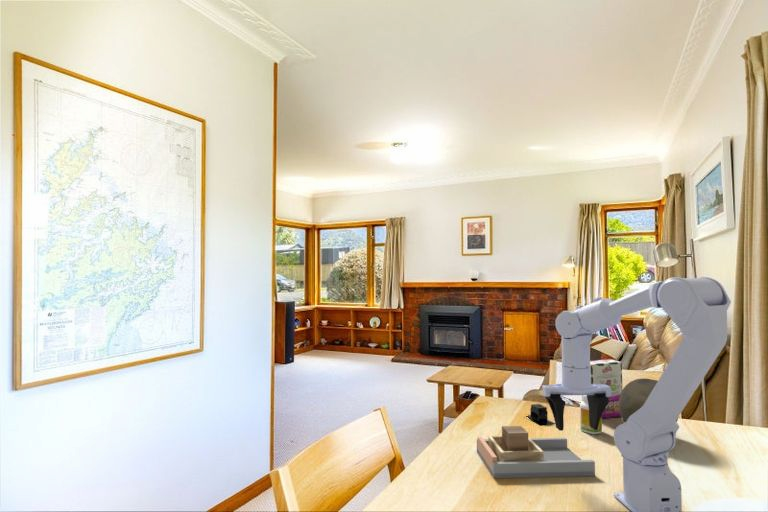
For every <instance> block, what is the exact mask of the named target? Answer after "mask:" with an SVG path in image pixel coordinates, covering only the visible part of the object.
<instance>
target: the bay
mask: <svg viewBox="0 0 768 512" xmlns="http://www.w3.org/2000/svg"><path fill="white" fill-rule="evenodd" d="M529 438H530V437H529ZM530 439H531V440H532V441H533V442H534V443H535V444H536V445H537V446H538V447H539V448H540V449H541V450H542V451H543V452H544V461H511V462H497V457H496V455H495V454H494V453H493V451H492V450H491V448H490V447H489V446H488V438H484V437H483V436H477V438H476V453H477V455H478V456H479V458H480V459H481V461H482V462H483V464H484V465H485V467H486V469H487V470H488V472H489V473H490V474H491V476H492V478H493V479H524V478H526V479H527V478H529V479H530V478H560V477H561V478H563V477H564V478H565V477H567V478H568V477H570V478H571V477H595V476H596V461H595V460H594V459H581V457H579V455H577V454H576V453H574V452H573V451H572V450H571V449H570V448H568V438H566V437H531V438H530Z"/></svg>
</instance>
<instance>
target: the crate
mask: <svg viewBox="0 0 768 512" xmlns="http://www.w3.org/2000/svg"><path fill="white" fill-rule="evenodd" d="M487 439H488V446H489V447H490V448H491V450H492V451H493V453H494V454H495V455H496V457H497V462H511V461H544V452H543V451H542V450H541V449H540V448H539V447H538V446H537V445H536V444H535V443H534V442H533V441H532V440H531V439H530V436H528V451H503V450H502V435H489V436H488V438H487Z"/></svg>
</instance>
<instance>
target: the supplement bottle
mask: <svg viewBox="0 0 768 512" xmlns="http://www.w3.org/2000/svg"><path fill="white" fill-rule="evenodd" d="M583 400H584V401H583V402H582V401H581V402H580V404H579V424H580V425H579V426H580V431H582V432H583V433H586V434H590V435H598V434H599V435H600V434H601V433H602V432H603V427H602V426H603V425H602V424H603V421H602V420H603V419H602V416H601V419H600V422H599V426H598V430H594V429H593V428H591V427H590V424H589V406H588V400H587V395H583Z"/></svg>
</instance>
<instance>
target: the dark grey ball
mask: <svg viewBox="0 0 768 512" xmlns="http://www.w3.org/2000/svg"><path fill="white" fill-rule="evenodd" d="M657 382H658V380H657V379H650V378H636V379H634V380H632V381H630V382H629V383H627V384H626V385H625V386H624V387H622V392H621V394H620V397H619V411H620V414H621V417H620V418H621V419H622V421H623V424H624V423H625V422H626V421H627V420H628V418H629V417H630V416H631V415H632V414H633V413H635V412H636V411H637V410H639V409H640V408H641V407H643V405H644V403H645V402H646V400H647V398H648V397H649V395H650V393H651V392H652V390H653V388H654V387H655V385H656V383H657ZM678 420H679V417H678V418H677V420H676V422H677V423H678Z"/></svg>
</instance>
